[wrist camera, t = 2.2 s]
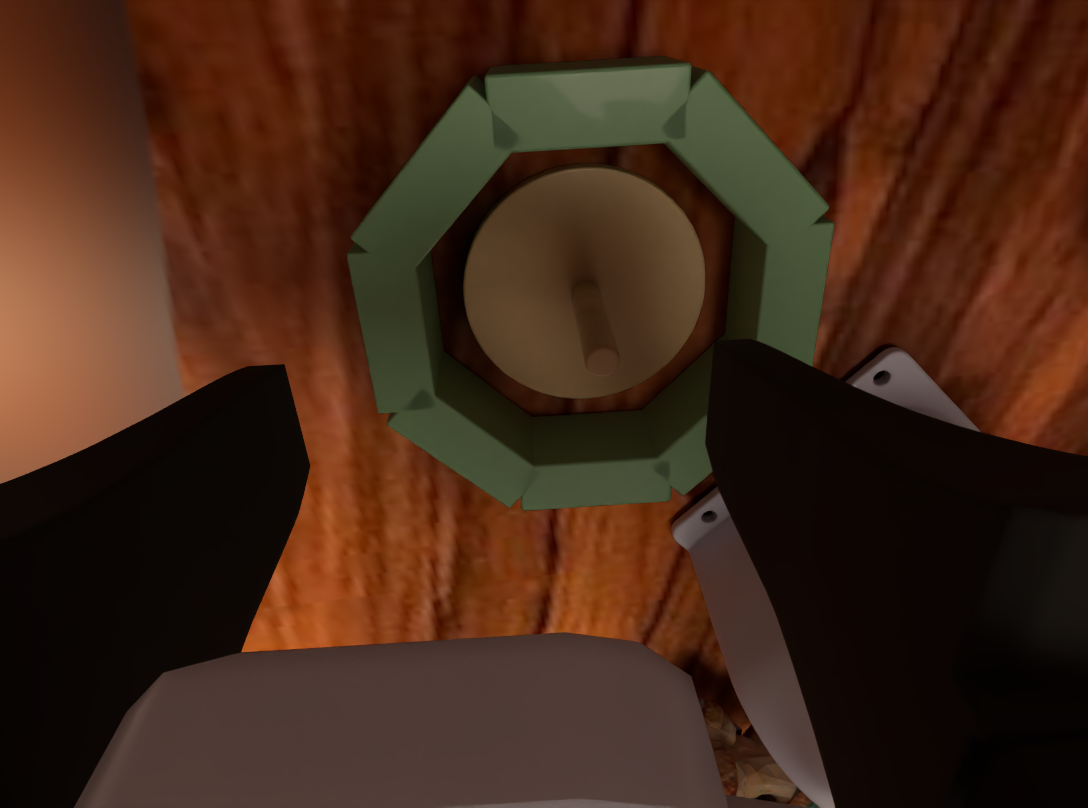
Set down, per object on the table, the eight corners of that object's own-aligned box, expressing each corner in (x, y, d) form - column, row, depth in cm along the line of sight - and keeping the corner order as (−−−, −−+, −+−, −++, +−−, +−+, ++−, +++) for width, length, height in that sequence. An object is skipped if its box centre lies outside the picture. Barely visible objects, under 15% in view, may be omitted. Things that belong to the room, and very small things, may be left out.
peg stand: (586, 428, 22) (605, 529, 18) (415, 297, 20) (388, 376, 15) (749, 275, 20) (816, 349, 15) (578, 104, 17) (600, 135, 13)
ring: (588, 512, 24) (597, 569, 21) (297, 304, 20) (266, 344, 17) (867, 267, 20) (916, 303, 17) (574, -57, 16) (586, -70, 13)
